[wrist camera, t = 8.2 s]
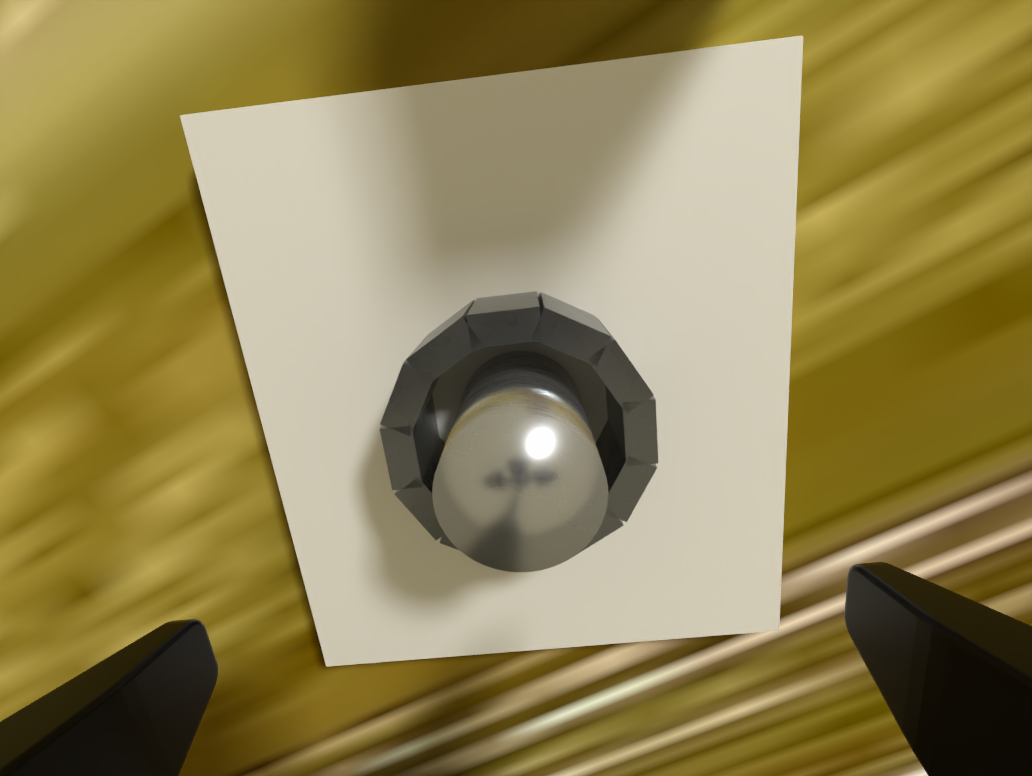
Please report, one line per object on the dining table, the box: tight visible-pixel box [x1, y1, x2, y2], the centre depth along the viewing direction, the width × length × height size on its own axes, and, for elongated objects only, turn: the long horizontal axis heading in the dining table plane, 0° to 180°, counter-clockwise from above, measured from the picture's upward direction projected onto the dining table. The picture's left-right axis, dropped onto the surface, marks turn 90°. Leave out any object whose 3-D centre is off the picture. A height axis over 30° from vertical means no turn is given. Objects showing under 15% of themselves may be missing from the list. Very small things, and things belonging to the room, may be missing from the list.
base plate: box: [180, 36, 803, 667], centre depth 17 cm, size 18×16×2 cm
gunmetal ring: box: [380, 291, 658, 557], centre depth 15 cm, size 7×7×3 cm
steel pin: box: [432, 351, 608, 572], centre depth 14 cm, size 4×4×6 cm
